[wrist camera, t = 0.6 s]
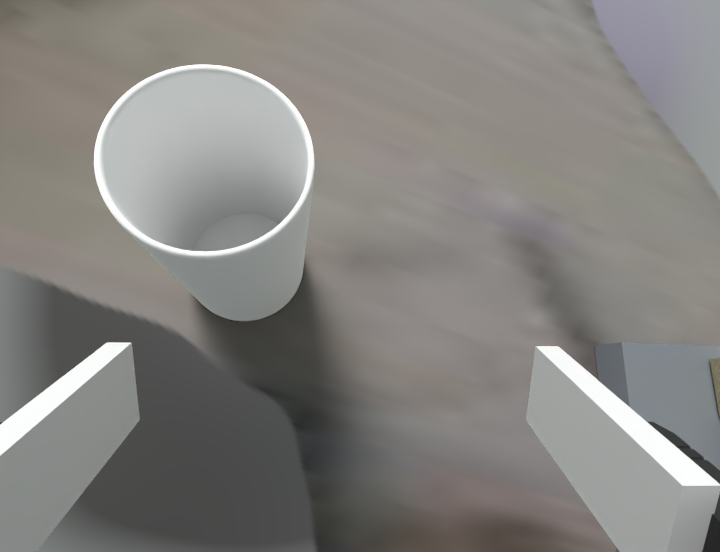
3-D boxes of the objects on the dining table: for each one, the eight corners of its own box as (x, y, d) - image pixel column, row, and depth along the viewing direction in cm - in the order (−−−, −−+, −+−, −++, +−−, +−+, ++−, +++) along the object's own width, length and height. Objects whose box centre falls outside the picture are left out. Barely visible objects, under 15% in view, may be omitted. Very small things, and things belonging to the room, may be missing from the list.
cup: (254, 344, 31) (221, 302, 16) (161, 274, 32) (41, 165, 16) (325, 256, 34) (355, 145, 18) (238, 191, 34) (197, 27, 19)
